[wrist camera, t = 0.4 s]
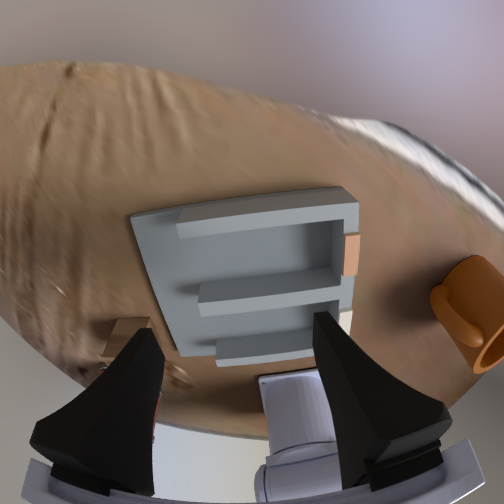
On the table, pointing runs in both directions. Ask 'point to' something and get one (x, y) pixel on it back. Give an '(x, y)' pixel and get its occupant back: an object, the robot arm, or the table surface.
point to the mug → (473, 311)
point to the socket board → (252, 271)
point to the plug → (125, 335)
